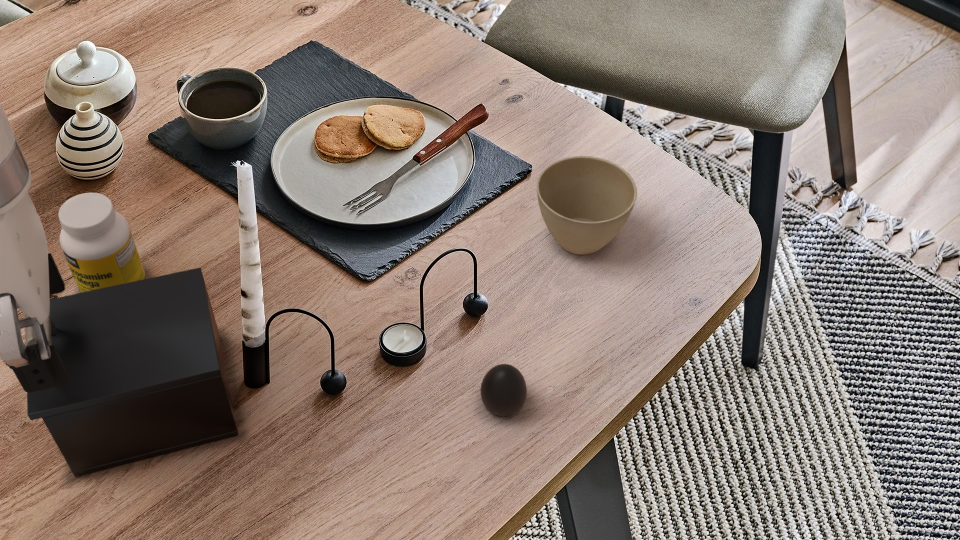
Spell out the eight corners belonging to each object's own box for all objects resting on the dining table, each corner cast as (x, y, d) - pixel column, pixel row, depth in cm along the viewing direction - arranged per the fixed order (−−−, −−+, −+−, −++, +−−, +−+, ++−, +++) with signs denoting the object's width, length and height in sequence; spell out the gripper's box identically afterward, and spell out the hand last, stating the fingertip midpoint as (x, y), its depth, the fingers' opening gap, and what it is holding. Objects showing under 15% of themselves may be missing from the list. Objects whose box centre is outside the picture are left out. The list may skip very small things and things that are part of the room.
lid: (30, 421, 72) (6, 378, 68) (28, 310, 79) (6, 266, 76) (221, 375, 75) (208, 332, 71) (202, 273, 83) (190, 229, 79)
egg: (470, 404, 85) (471, 371, 81) (500, 377, 87) (502, 343, 83) (505, 430, 83) (507, 397, 79) (534, 402, 85) (538, 369, 81)
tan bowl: (586, 193, 104) (594, 143, 99) (646, 248, 99) (657, 197, 93) (513, 228, 100) (517, 177, 95) (571, 286, 95) (578, 236, 89)
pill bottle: (70, 305, 91) (33, 224, 83) (105, 261, 95) (74, 180, 87) (127, 321, 90) (95, 240, 82) (160, 276, 94) (133, 194, 86)
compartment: (75, 478, 79) (41, 418, 72) (69, 371, 86) (38, 308, 80) (239, 436, 82) (221, 375, 75) (220, 336, 89) (202, 273, 83)
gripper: (-89, 105, 66) (-3, 271, 79) (-110, 278, 55) (-6, 439, 68) (24, 86, 68) (91, 252, 81) (25, 250, 57) (103, 412, 70)
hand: (46, 337), depth 74 cm, fingers open, 9 cm apart
